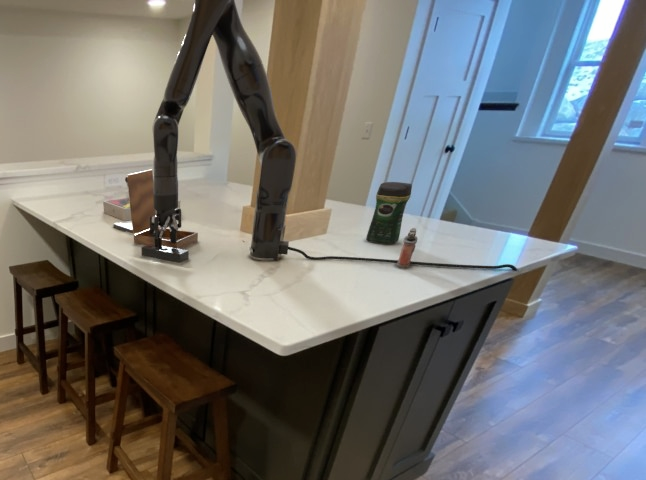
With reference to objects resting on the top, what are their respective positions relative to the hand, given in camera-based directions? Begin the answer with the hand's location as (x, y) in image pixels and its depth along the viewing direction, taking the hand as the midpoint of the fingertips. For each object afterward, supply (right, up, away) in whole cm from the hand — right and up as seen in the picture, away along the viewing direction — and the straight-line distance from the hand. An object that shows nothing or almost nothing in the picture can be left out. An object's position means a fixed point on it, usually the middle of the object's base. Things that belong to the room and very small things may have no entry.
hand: (166, 246), depth 142 cm
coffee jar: (+74, +4, +9) cm, 75 cm away
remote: (0, -3, +2) cm, 4 cm away
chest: (+1, +6, +17) cm, 18 cm away
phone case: (-11, +18, +37) cm, 43 cm away
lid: (-7, +21, +15) cm, 26 cm away
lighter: (+69, -9, -11) cm, 71 cm away
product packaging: (-6, +35, +62) cm, 72 cm away
